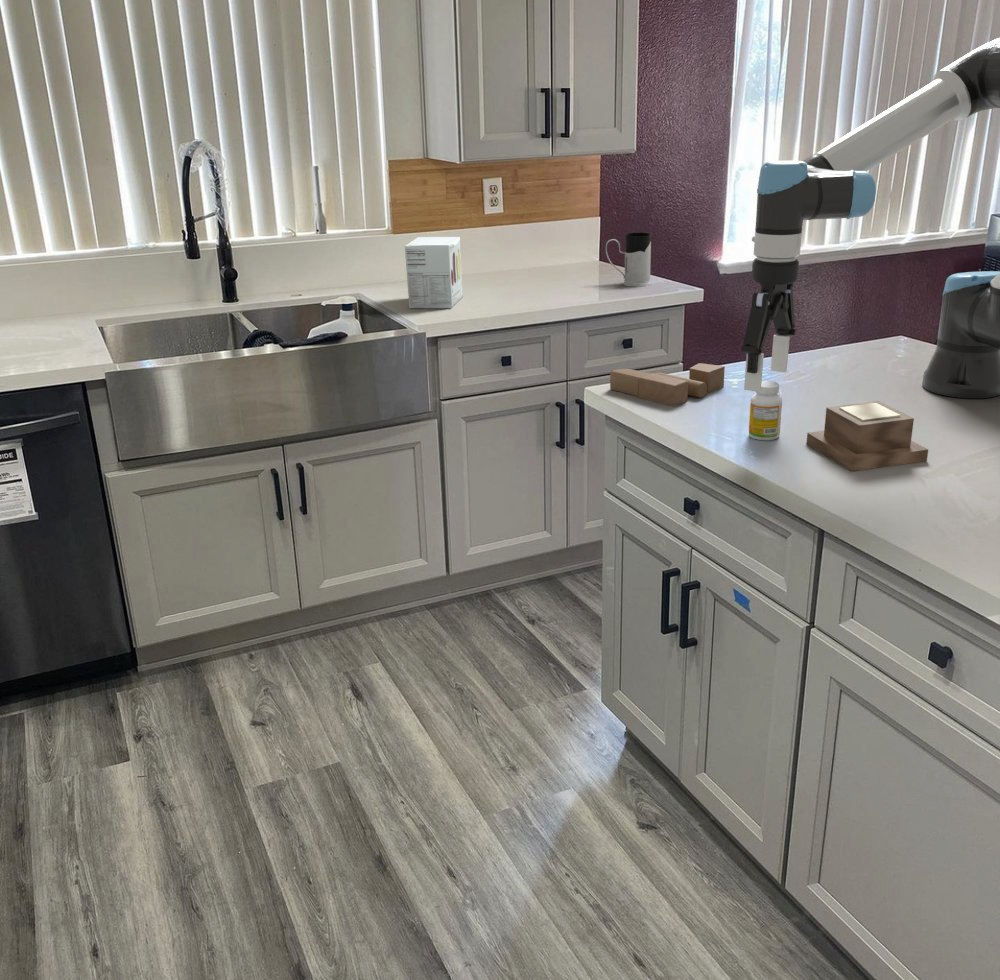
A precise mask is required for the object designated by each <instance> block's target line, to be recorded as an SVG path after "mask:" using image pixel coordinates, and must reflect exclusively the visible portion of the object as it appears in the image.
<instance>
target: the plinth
mask: <svg viewBox="0 0 1000 980" xmlns="http://www.w3.org/2000/svg"><path fill="white" fill-rule="evenodd" d="M825 409H826V410H825V418H824V429H823V430H818V431H809V432H806V434H807V435H806V444H807V445H808V446H810V447H812V448H813V449H814V450H816V451H817V452H820V453H822V454H823V455H824V456H826V457H827V458H829V459H831V460H833V461H834V462H835V463H837V464H838V465H840V466H842V467H844V468H845V469H847V470H848V471H850V472H856V471H857V472H858V471H862V470H863V471H864V470H871V468H872V469H876V468H877V467H879V468H884V467H883V466H886V467H891V465H893V466H900V465H906V464H914V463H921V462H927V461H928V456H929V448H926V447H925V446H922V445H920V444H919V443H917V442H915V441H913V440H912V436H913V429H914V420H915V418H914V417H912V416H910V415H907V414H906V413H904V412H902V411H900V410H898V409H895V408H893V407H891V406H889V405H887V404H885V403H884V402H881V401H880V400H877V401H868V402H860V403H852V404H851V403H850V404H844V405H835V406H828V407H827V406H826V408H825ZM899 464H900V465H899Z"/></svg>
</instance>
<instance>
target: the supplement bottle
mask: <svg viewBox="0 0 1000 980" xmlns="http://www.w3.org/2000/svg"><path fill="white" fill-rule="evenodd" d="M779 392H780V384H779V383H778V382H777V381H772V380H767V381H766V380H762V384H761V391H760V392H756V391H755V393H754V394H753V395H752V396H751V397H750V407H749V408H750V409H749V424H748V425H749V426H748V436H749V437H750V438H752V439H754V440H757V441H758V440H759V441H773V440H776V439H778V438H779V437H780V432H781V420H782V407H783V399H782V397H781V396H780V394H778V393H779Z"/></svg>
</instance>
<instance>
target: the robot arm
mask: <svg viewBox="0 0 1000 980" xmlns="http://www.w3.org/2000/svg"><path fill="white" fill-rule="evenodd" d="M993 109H1000V37H997V38H995V39H992V40H991V41H987V42H986V43H984V44H982V45H980V46H978V47H977V48H975V49H973V50H971V51H968V53H966V54H964V55H963V56H961V57H960V58H957V59H956V60H955V61H953V62H951V63H950V64H948V65H946V66H945V67H943V68H940V69H939V70H938V71H937V72H936V73H935V74H934V76H933V78H932V81H931V82H930V83H928V84H926V85H925V86H923V87H922V88H920V89H918V90H917V91H915V92H914V93H912V94H910V95H908V96H907V97H905V98H903V99H901V100H900V101H899V102H897V103H896V104H894V105H892V106H890V107H889V108H887V109H886V110H884V111H883V112H880V113H879V114H878V115H876V116H874V117H872V118H871V119H869V120H868V121H866V122H864V123H863V124H861V125H860V126H858V127H856V128H855V129H853V130H852V131H850V132H848V133H847V134H845V135H844V136H843V135H842V136H841V138H839V139H837V140H835V141H834V142H832V143H830V144H829V145H827V146H826V147H824V148H822V149H821V150H819V151H817V152H815V153H814V154H812V155H810V156H808V157H807V158H805V159H803V160H791V159H790V160H770V161H766V162H764V163H763V164H762V165H761V167H760V171H759V177H758V183H757V189H756V193H757V200H756V213H755V215H756V217H755V230H754V236H752V237H751V241H752V242H753V243H754V244H753V245H754V247H753V256H755V258H754V259H753V260H752V264H751V265H752V266H751V280H752V281H753V282H754V283H757V284H759V285H760V286H761V287H760V292H754V293H753V294H752V299H751V307H750V313H749V317H748V320H747V325H746V330H745V334H744V339H743V343H742V347H741V348H740V352H741V353H743V354H746V357H745V373H744V385H743V387H744V388H743V390H744V391H751V392H755V393H756V392H760V391H761V384H762V381H763V369H764V359H765V358H764V356H765V354H764V353H763V350H764V346H765V343H766V340H767V337H768V333H769V330H770V327H771V323H772V322H773V327H774V329H775V334H774V335H773V339H772V351H771V364H770V371H772V372H777V373H778V372H780V373H787V371H788V361H789V351H790V350H789V348H790V338H791V336H795V335H796V332H797V331H796V329H795V327H796V321H795V310H794V306H795V305H794V296H793V295H794V294H793V290H794V284H795V283H796V282H797V281H798V277H799V264H800V261H799V260H798V258H799V257H800V256H801V246H802V234H803V233H802V232H803V225H804V221H811V220H832V219H835V220H836V219H846V220H850V219H851V218H852V219H853V218H860V217H864V216H866V215H867V214H868V213H870V211H871V210H872V208H873V207H874V204H875V200H876V192H877V187H876V183H875V179H874V177H873V175H872V174H871V173H870V172H869V171H871V170H872V169H873V168H875V167H877V166H878V165H879V164H881V163H883V162H885V161H886V160H888V159H890V158H892V157H893V156H895V155H896V154H898V153H899V152H901V151H903V150H904V149H906V148H908V147H910V146H912V144H915V143H916V142H918V141H919V140H921V139H924V137H926V136H928V135H929V134H931V133H933V132H934V131H936V130H938V129H939V128H941V127H943V126H945V125H946V124H947V123H950V122H952V121H956V122H960V121H963V120H965V119H967V118H968V117H970V116H972V115H975V114H978V113H979V112H982V111H987V110H993ZM945 280H946V281H945V284H944V289H943V292H942V294H941V295H942V296H941V297H942V301H941V302H942V303H941V307H940V308H941V310H940V315H939V316H940V319H939V325H938V331H937V332H938V333H937V341H936V347H935V350H934V352H933V355H932V356H931V358H930V361H929V363H928V365H927V368H926V369H925V371H924V372H923V375H922V381H921V385H922V387H923V388H924V389H925V390H927V391H928V392H931V393H934V394H937V395H942V396H946V397H952V398H958V399H959V398H960V399H987V398H994V397H997V396H1000V271H999V270H998V271H993V270H990V271H988V270H987V271H983V270H982V271H967V272H957V273H953V274H951V275H950V276H948V277H947V278H946V279H945Z"/></svg>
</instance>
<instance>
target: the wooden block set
mask: <svg viewBox="0 0 1000 980" xmlns="http://www.w3.org/2000/svg"><path fill="white" fill-rule="evenodd" d="M725 367H726V366H724V365H717V364H708V363H702V362H700V363H697V364H695V365H693V366H692V367H689V374H688V375H689V377H688V378H687V377H686V378H685V377H682V376H677V375H672V374H668V373H664V372H658V371H657V372H652V373H650V372H644V371H641V370H635V369H631V368H619V369H618V368H617V369H614V370H611V371H610V372H609V374H610V375H609V376H610V379H609V382H610V383H609V387H610V390H611V391H614V392H619V393H623V394H627V395H631V396H635V397H638V398H639V399H641V400H642V399H643V400H646V401H651V402H655V403H659V404H663V405H667V406H672V407H676V406H679V405H682V404H683V403H686V402H688V396H689V397H690V396H691V397H693V398H699V399H701V398H704V397H705V396H706V394H709V393H711V392H714V391H717V390H719V389H722V388H724V386H725Z"/></svg>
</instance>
